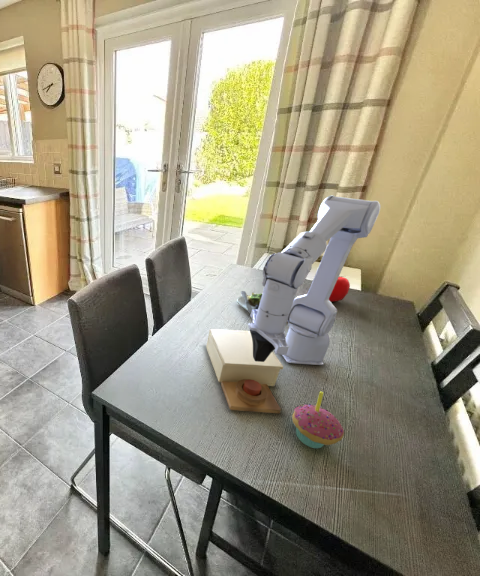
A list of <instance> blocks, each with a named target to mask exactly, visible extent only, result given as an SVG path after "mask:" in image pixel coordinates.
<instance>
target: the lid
mask: <svg viewBox="0 0 480 576" xmlns="http://www.w3.org/2000/svg"><path fill="white" fill-rule="evenodd" d="M209 331H210V334H211V336H212V338H213V340H214V343H215V345H216V347H217V350H218V352H219V354H220V357H221V359H222V361H223V363H224V366H238V367H253V368H269V369H280V370H284V365H283V364H282V362H281V360H279V358H278V357H277V354H276V353H275V352H274V350H273V351H272V352H271V354H270V355H269V356H268V357H267V359H266V360H265V361H264V362H258V361H255V360H254V358H253V341H252V336H251V333H250V330H242V329H241V330H239V329H221V328H209ZM209 331H208V332H209Z"/></svg>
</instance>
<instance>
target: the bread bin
mask: <svg viewBox="0 0 480 576" xmlns="http://www.w3.org/2000/svg"><path fill="white" fill-rule="evenodd" d="M205 348H206V351H207V354H208V357H209V359H210V362H211V364H212V367H213V370H214V372H215V376H216V379H217V381H218V383H221V382H222V381H226V382H238V381H240V380H242V379H251V380H255V381H257V382H258V383H259V384H267V385H268V387H275V385H276V382H277V380H278V377H279V374H280V371H281V369H269V368H253V367H238V366H224V363H223V361H222V359H221V357H220V354H219V352H218V350H217V347H216V345H215V343H214V340H213V338H212V336H211V334H210V331H208V336H207V340H206V345H205Z"/></svg>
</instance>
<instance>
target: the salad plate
mask: <svg viewBox="0 0 480 576" xmlns="http://www.w3.org/2000/svg"><path fill="white" fill-rule="evenodd" d="M261 297H262V293H254V292H251V294H247V292H246V291H245V290H241V291H240V296H238V297H237V299H236V302H237V304H238V305H239V306H240V307H242V308H243V309H244V310H245V311H246V312H248V313H249V314H250V315H251V312H252V309H256V310H258V308H259V304H260V301H261Z"/></svg>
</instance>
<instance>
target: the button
mask: <svg viewBox="0 0 480 576" xmlns="http://www.w3.org/2000/svg"><path fill="white" fill-rule="evenodd" d="M243 390H244V391H245V392H246V393H247V394H249V395H252V396H257V395H259V394H260V391H261V385H260V384H259V383H258V382H257V381H255V380H251V379H248V380H246V381H245V382H244V386H243Z"/></svg>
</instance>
